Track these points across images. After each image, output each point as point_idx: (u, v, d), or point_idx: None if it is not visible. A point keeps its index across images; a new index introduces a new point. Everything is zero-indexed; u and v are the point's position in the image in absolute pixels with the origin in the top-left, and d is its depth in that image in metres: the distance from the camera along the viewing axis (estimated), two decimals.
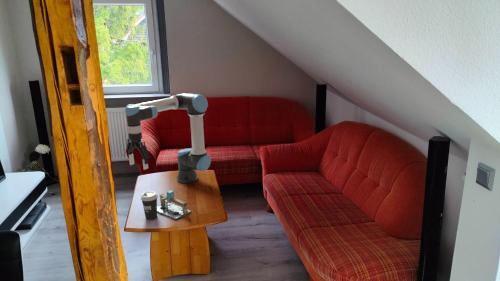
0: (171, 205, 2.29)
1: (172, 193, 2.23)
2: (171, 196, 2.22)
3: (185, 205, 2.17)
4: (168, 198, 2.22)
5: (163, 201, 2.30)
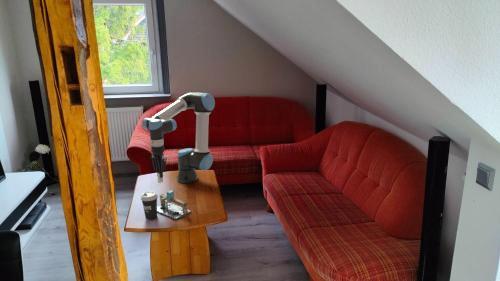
0: (171, 205, 2.29)
1: (172, 193, 2.23)
2: (171, 196, 2.22)
3: (185, 205, 2.17)
4: (168, 198, 2.22)
5: (163, 201, 2.30)
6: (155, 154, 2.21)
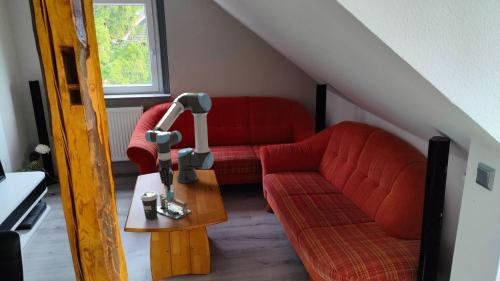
0: (171, 205, 2.29)
1: (172, 193, 2.23)
2: (171, 196, 2.22)
3: (185, 205, 2.17)
4: (168, 198, 2.22)
5: (163, 201, 2.30)
6: (162, 167, 2.20)
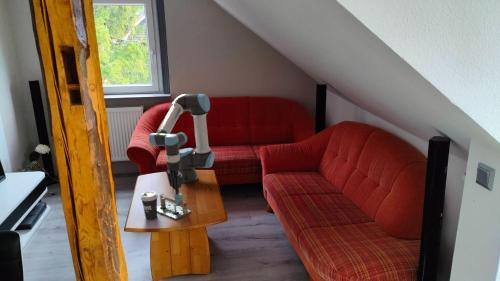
0: (171, 205, 2.29)
1: (181, 196, 2.18)
2: (180, 199, 2.18)
3: (185, 205, 2.17)
4: (176, 201, 2.18)
5: (163, 201, 2.30)
6: (171, 170, 2.16)
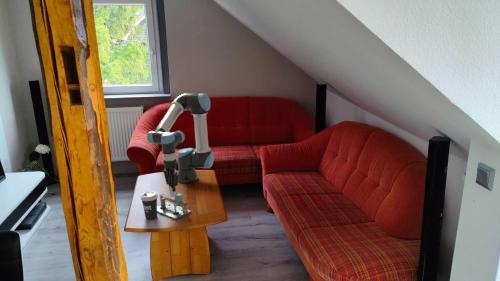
0: (171, 205, 2.29)
1: (181, 196, 2.18)
2: (180, 199, 2.18)
3: (185, 205, 2.17)
4: (177, 201, 2.18)
5: (163, 201, 2.30)
6: (167, 168, 2.18)
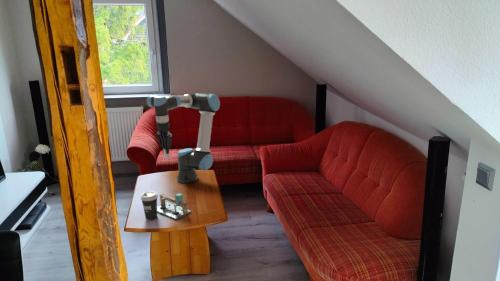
0: (171, 205, 2.29)
1: (181, 196, 2.18)
2: (180, 199, 2.18)
3: (185, 205, 2.17)
4: (177, 201, 2.18)
5: (163, 201, 2.30)
6: (160, 130, 2.23)
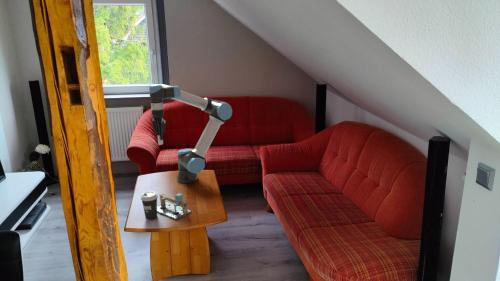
0: (171, 205, 2.29)
1: (181, 196, 2.18)
2: (180, 199, 2.18)
3: (185, 205, 2.17)
4: (177, 201, 2.18)
5: (163, 201, 2.30)
6: (155, 117, 2.36)
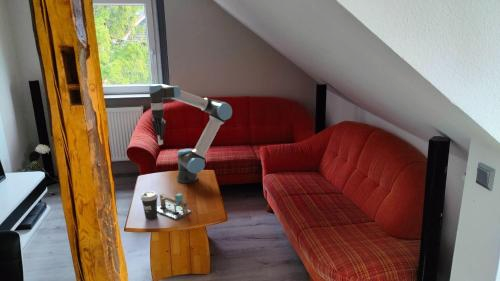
0: (171, 205, 2.29)
1: (181, 196, 2.18)
2: (180, 199, 2.18)
3: (185, 205, 2.17)
4: (177, 201, 2.18)
5: (163, 201, 2.30)
6: (155, 117, 2.36)
